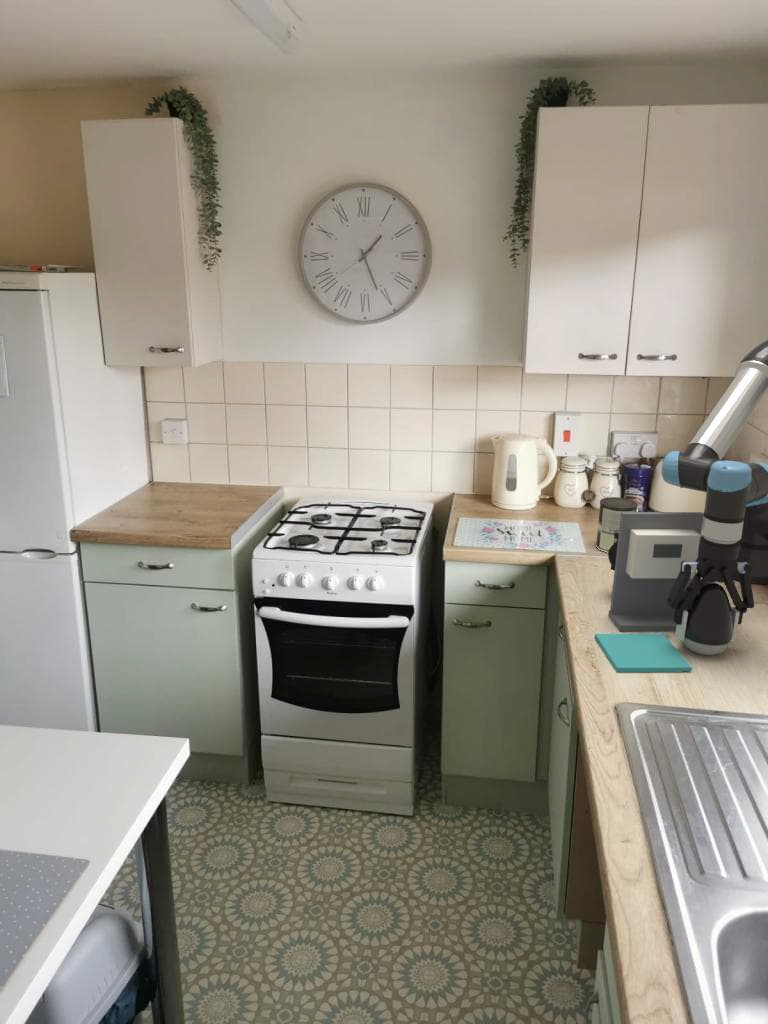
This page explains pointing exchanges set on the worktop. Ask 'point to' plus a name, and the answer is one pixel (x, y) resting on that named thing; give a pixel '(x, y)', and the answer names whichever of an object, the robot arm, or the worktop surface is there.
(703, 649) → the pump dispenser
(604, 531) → the coffee can
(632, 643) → the mat
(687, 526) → the mounted unit
